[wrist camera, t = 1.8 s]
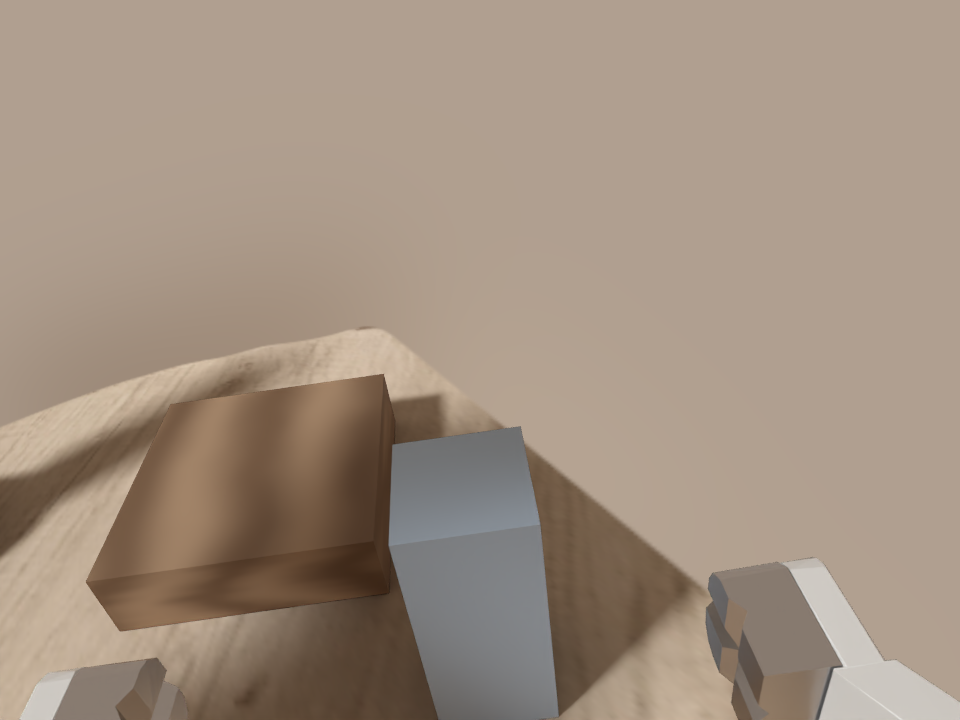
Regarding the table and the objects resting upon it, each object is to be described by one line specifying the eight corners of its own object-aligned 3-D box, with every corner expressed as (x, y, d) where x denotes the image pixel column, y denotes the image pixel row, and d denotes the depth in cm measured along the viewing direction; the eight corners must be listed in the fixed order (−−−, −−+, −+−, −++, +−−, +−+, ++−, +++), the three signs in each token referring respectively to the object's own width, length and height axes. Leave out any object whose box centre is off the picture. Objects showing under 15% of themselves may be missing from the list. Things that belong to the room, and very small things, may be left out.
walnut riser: (119, 631, 35) (85, 582, 33) (192, 449, 47) (170, 404, 45) (389, 592, 35) (373, 541, 33) (395, 421, 47) (383, 373, 45)
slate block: (442, 733, 29) (388, 545, 22) (438, 629, 33) (392, 444, 26) (558, 716, 29) (540, 524, 22) (540, 614, 33) (520, 426, 26)
